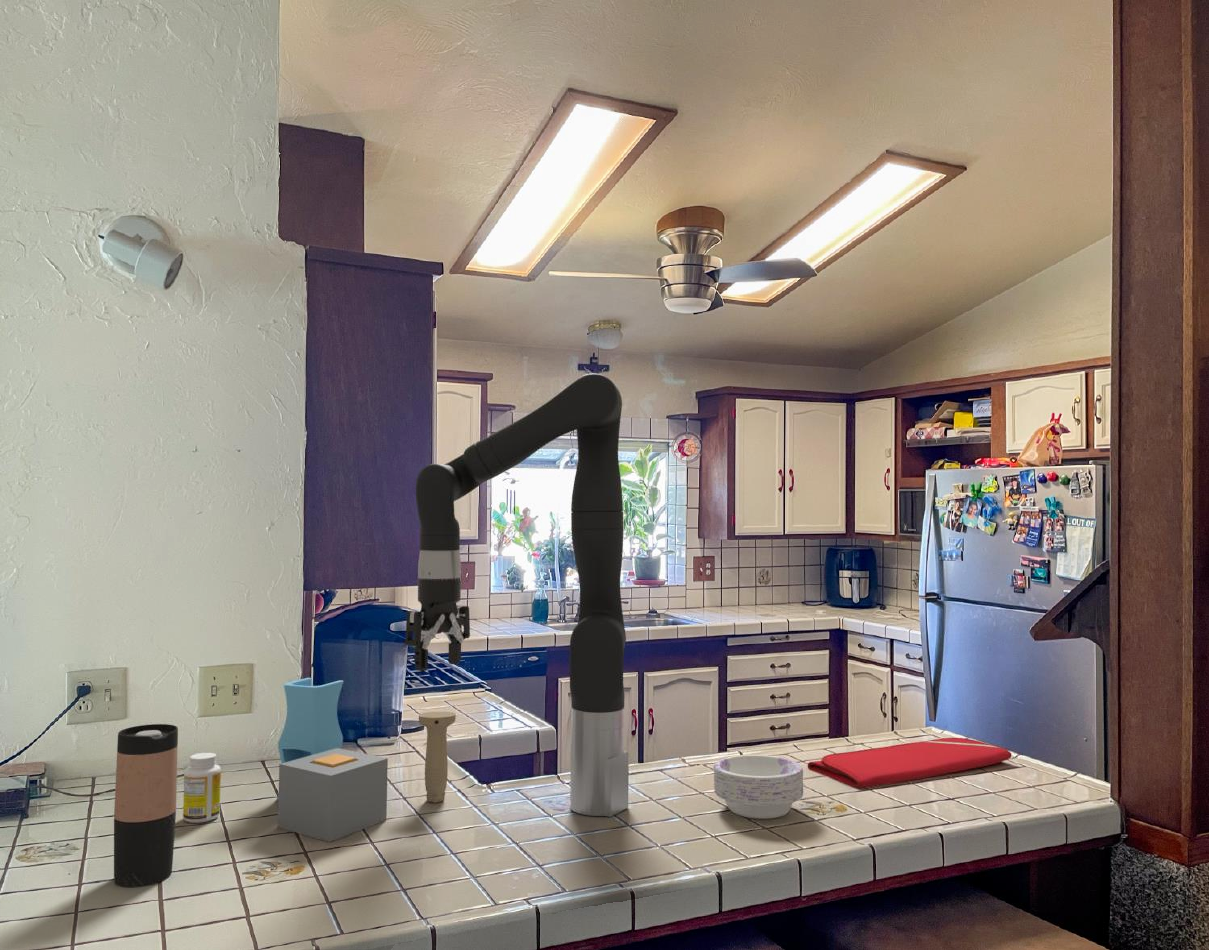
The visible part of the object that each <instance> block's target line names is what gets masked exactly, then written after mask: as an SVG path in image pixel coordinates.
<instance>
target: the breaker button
mask: <svg viewBox="0 0 1209 950" xmlns="http://www.w3.org/2000/svg"><path fill="white" fill-rule="evenodd" d="M354 761H356V758H354V757H349V756H344V755H339V754H333V755H329V756H326V757H322V758H319V759H315V760H313V763H314V764H318V765H323V766H327V767H332V768H334V767H337V766H340V765H344V764H347V763H350V762H354Z"/></svg>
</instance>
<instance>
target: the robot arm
mask: <svg viewBox="0 0 1209 950" xmlns="http://www.w3.org/2000/svg"><path fill="white" fill-rule="evenodd" d="M622 407H623V399H622V396H621V392H620V391H619V388H618V387H617V386H616V385H615V383H614V382H613V381H612V380H611V379H610V378H609V377H607V376H605V375H603V374H601V373H587V374H583V375H581V376H580V377H578V378H577V379H575V381H573V382H572V383H571V384H569V385H568V386H567V387H565V388H564V389H563V390H562V391H560V392H559V393H558V394H557V395H555V396H554V397H552V398H551V399H550V400H547V402H546V403H544V404H542V405H541V406H539V407H538V408H537V409H536V408H535V410H533V411H531V412H530V413H528V414H527V415H524V416H523V417H521V418H520V419H518V420H515V421H514V422H511V423H510V424H508V425H506V426H505V427H503V428H500V429H499V430H497V431H495V432H493V433H492V434H489V435H488V436H486V437H484V438H482V439H480V440H478V441H477V442H474V443H473V444H471V445H470V446H468V447H467V448H465V450H464V451H463V454H461V455H459V456H457V457H456V458H454V459H452V460H451V461H449V462H447V463H445V464H443V463H437V462H436V463H431V464H427V465H426V466H424V467H423V468H422V469H421V470H420V471H419V473H418V475H417V477H416V480H415V481H416V483H415V499H416V500H415V501H416V506H417V512H418V513H417V514H418V517H419V522H420V532H419V533H420V535H419V537H420V538H419V557H418V564H417V565H418V567H417V568H418V569H417V571H418V572H417V573H418V575H417V602H418V603H420V606H421V607H420V611H418V610H417V611H416V610H414V611H413V610H408V611H407V612H406V625H405V645H406V646H407V647H412V648H413V649H414V663H413V664H414V668H415V670H416V671H417V672H418V671H419V672H426V671H427V670H428V668H429V667H428V666H429V649H428V647H429V645H430V643H431V641H432V640H433V639H434V638H435V637H436V635H439V634H441V633H443V634H444V635H445V636H446V637H447V640H448V641H449V642H448V659H447V660H448V661H447V662H448V664H449V665H454V666H455V665H459V664H461V659H462V644H463V642H464V640H465V639H469V638H470V637H471V628H470V626H471V624H470V623H471V621H470V619H471V618H470V606H468V605H461V604H459V605H457V603H459V602H461V594H462V593H461V589H462V588H461V587H462V586H461V583H462V580H461V579H462V578H461V577H462V571H461V570H462V562H461V561H462V559H461V552H460V549H461V548H460V545H461V543H460V542H461V536H460V534H461V533H460V532H461V531H460V523H459V520H457V518H456V516H455V502H456V501H458V500H460V499H462V498H463V497H465V496H466V495H468V494H469V493H471V492H473V491H474V490H476V489H477V488H478V487H480V486H481V485H482V484H483V483H485V482H487V481H490V480H491V479H494V478H495V477H498V476H499V475H501V474H503V473H505V472H507V471H509V470H510V469H513V468H514V467H517V465H519V464H521V463H522V462H524V461H525V460H527V459H529V458H530V457H531V456H532V455H533V454H535V453H536V452H537V451H539V450H540V449H542V448H543V447H545V446H546V445H547V444H549V443H551V442H552V441H555V440H557V439H558V438H560V437H562V436H565V434H569V433H572V432H574V431H576V437H577V463H576V470H575V476H574V481H573V486H572V487H573V488H572V494H571V506H570V509H571V510H570V511H571V512H570V513H571V515H570V516H571V517H570V520H571V522H570V525H571V526H570V527H571V541H572V548H573V549H572V550H573V554H574V561H575V565H576V570H577V574H578V580H579V581H578V582H579V605H578V607H579V608H578V617H577V618H578V619H577V624H576V626H575V627H574V629H573V630H572V632H571V635H570V641H569V691H570V697H571V704H570V705H571V709H570V712H571V716H570V719H571V720H570V724H571V725H570V727H571V728H570V795H569V796H570V798H569V799H570V801H569V803H570V807H569V808H570V810H571V811H573V812H575V813H577V814H580V815H584V816H591V817H592V816H594V817H598V816H599V817H600V816H601V817H604V816H605V817H608V818H609V817H613V816H614V815H617V814H618V813H620V812H622V811H624V810H626V809H628V808H629V778H630V777H629V774H630V772H629V771H630V769H629V767H630V766H629V765H630V764H629V763H630V762H629V761H630V760H629V757H630V755H629V752H628V751H627V750H625V689H624V687H625V686H624V650H625V647H626V643H627V642H626V641H627V635H626V629H625V620H624V613H623V606H622V596H621V592H622V591H621V576H622V566H623V565H622V564H623V553H624V549H623V548H624V504H623V489H622V480H621V479H622V478H621V471H620V470H621V469H620V462H619V461H620V460H619V441H620V428H621V417H622V409H623V408H622ZM462 626H463V628H462ZM462 629H463V631H462Z"/></svg>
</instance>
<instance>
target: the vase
mask: <svg viewBox="0 0 1209 950" xmlns="http://www.w3.org/2000/svg"><path fill="white" fill-rule="evenodd" d="M312 683H313V681H312V678H311V677H306V678H302V679H297V680H294V681H289V682H286V683H284V684H283V688H284V692H285V693H284V694H285V701H286V718H285V723H284V725H283V726H284V727H283V730H282V731H281V734H280V737H279V738H278V739H279V740H278V742H277V743H278V744H277V748H278V753H279V757H280V764H281V763H285V762H288V761H292V760H296V759H299V758H303V757H307V756H310V755H314V754H318V753H321V752H325V751H328V750H332V749H336V748H339V749H342V745H343V742H344V736H343V733H342V730H341V727H340V725H339V719H338V702H339V698H340V694H341V690H342V688H343V685H344V680H341V679H340V680H337V681H336V680H335V681H333V682H329V683H326V684H322V685H312ZM278 797H279V792H278V793H277V798H276V800H278Z"/></svg>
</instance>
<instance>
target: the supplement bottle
mask: <svg viewBox="0 0 1209 950" xmlns="http://www.w3.org/2000/svg"><path fill="white" fill-rule="evenodd" d="M221 768H222V767H221V765H218V764H217V754H216V753H213V752H200V753H199V752H198V753H195V754H192V755H191V756H190V757H189V767H187V768H186V769H185V770H184V774H183V806H182V807H183V808H182V809H183V811H182V812H183V813H182V817H183V818H182V819H183V820H184V821H185V822H187V823H191V824H199V823H200V824H201V823H207V822H211V821H213V820H215V819H217V818H218V817H219V816H220V814H221V779H222V771H221V770H222V769H221Z"/></svg>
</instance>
